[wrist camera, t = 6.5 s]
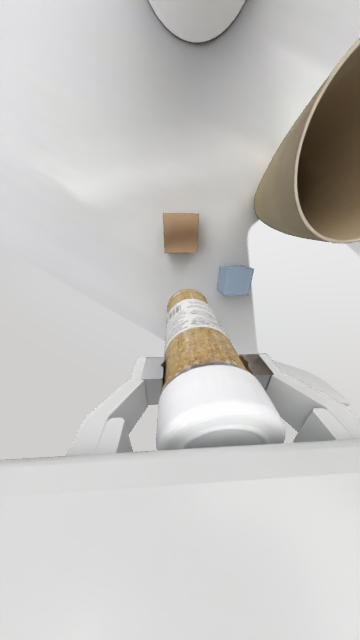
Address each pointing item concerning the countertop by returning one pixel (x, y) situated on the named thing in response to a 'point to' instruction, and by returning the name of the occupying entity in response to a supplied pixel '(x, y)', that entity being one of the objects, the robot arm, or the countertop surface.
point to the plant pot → (319, 164)
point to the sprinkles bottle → (209, 385)
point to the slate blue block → (234, 280)
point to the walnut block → (180, 232)
